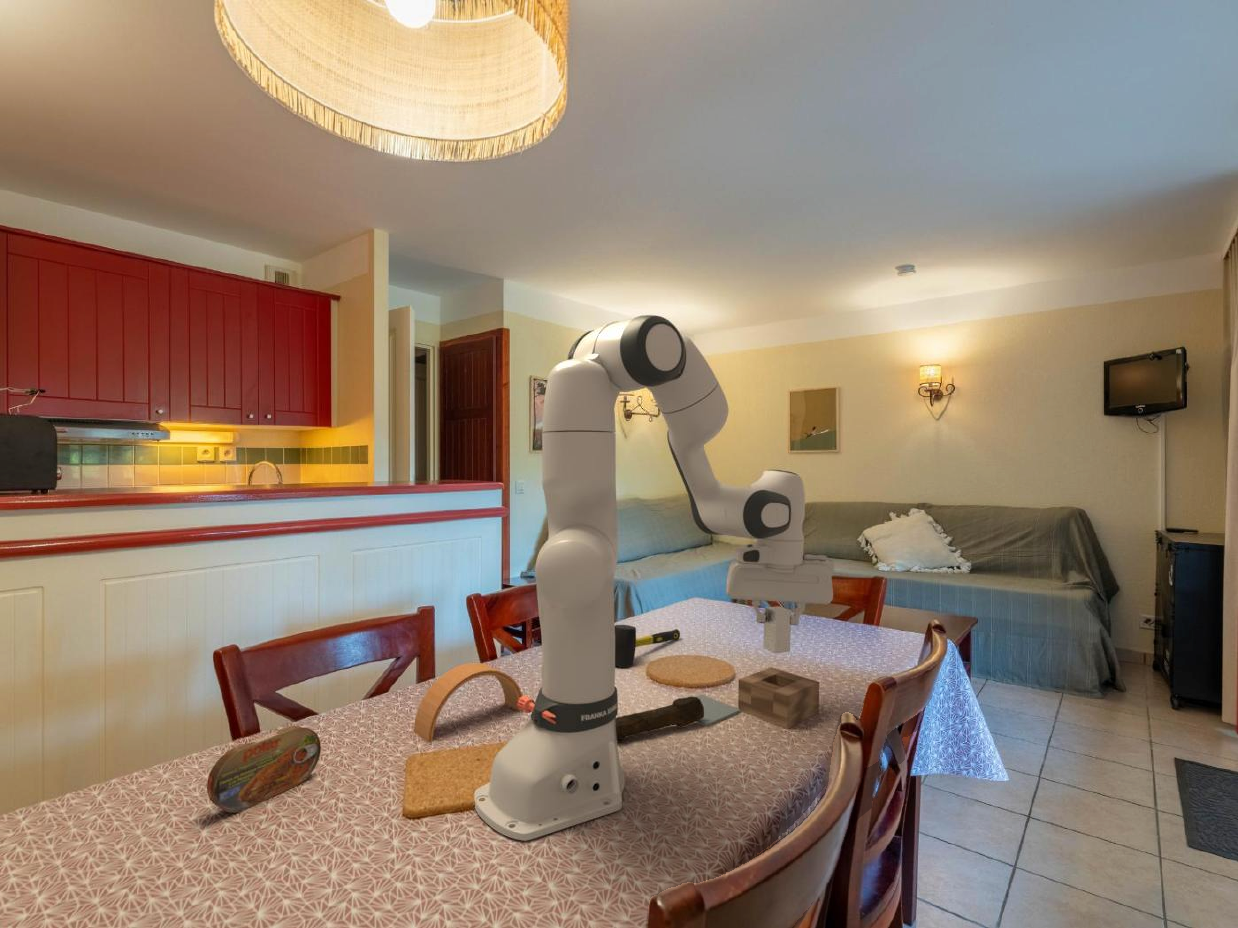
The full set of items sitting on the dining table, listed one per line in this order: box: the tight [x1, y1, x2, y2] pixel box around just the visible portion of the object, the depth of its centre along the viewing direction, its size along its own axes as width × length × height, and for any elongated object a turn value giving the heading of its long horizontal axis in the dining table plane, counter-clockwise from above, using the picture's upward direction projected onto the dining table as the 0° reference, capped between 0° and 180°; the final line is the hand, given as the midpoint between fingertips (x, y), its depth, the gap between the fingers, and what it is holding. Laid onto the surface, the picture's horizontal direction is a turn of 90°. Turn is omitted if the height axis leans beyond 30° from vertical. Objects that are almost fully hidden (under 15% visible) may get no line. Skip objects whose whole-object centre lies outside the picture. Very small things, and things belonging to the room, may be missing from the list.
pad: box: [695, 694, 742, 728], centre depth 117 cm, size 10×10×1 cm
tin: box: [206, 725, 322, 814], centre depth 87 cm, size 15×3×8 cm, turn 148°
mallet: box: [615, 624, 681, 668], centre depth 153 cm, size 29×6×10 cm, turn 145°
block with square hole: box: [737, 666, 820, 730], centre depth 117 cm, size 11×11×6 cm
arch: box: [413, 662, 524, 743], centre depth 112 cm, size 6×20×10 cm, turn 133°
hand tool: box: [615, 696, 704, 742], centre depth 108 cm, size 19×4×5 cm, turn 112°
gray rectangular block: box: [762, 606, 792, 654], centre depth 117 cm, size 4×4×8 cm
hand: (777, 623), depth 117 cm, fingers closed on gray rectangular block, 5 cm apart
